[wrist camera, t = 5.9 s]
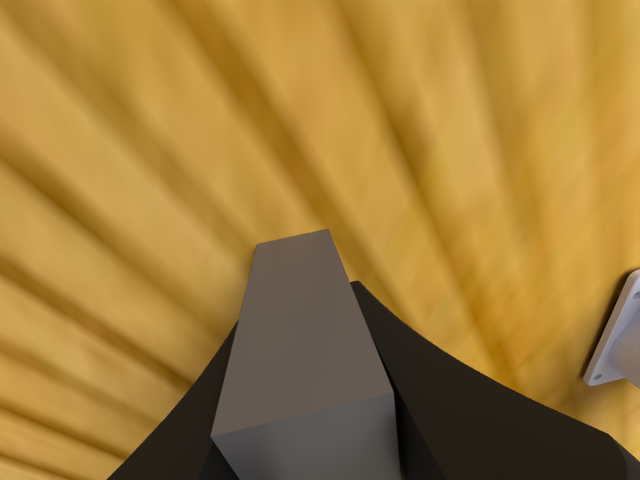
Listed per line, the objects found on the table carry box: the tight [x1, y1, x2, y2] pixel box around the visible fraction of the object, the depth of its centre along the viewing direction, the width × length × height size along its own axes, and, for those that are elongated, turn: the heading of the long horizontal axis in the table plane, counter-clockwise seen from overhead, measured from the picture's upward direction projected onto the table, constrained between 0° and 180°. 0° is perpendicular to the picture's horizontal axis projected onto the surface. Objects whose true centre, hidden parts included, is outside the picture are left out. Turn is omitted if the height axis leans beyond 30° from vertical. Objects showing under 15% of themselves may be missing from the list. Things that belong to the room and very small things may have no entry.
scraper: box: [210, 229, 401, 480], centre depth 12 cm, size 21×6×7 cm, turn 10°
